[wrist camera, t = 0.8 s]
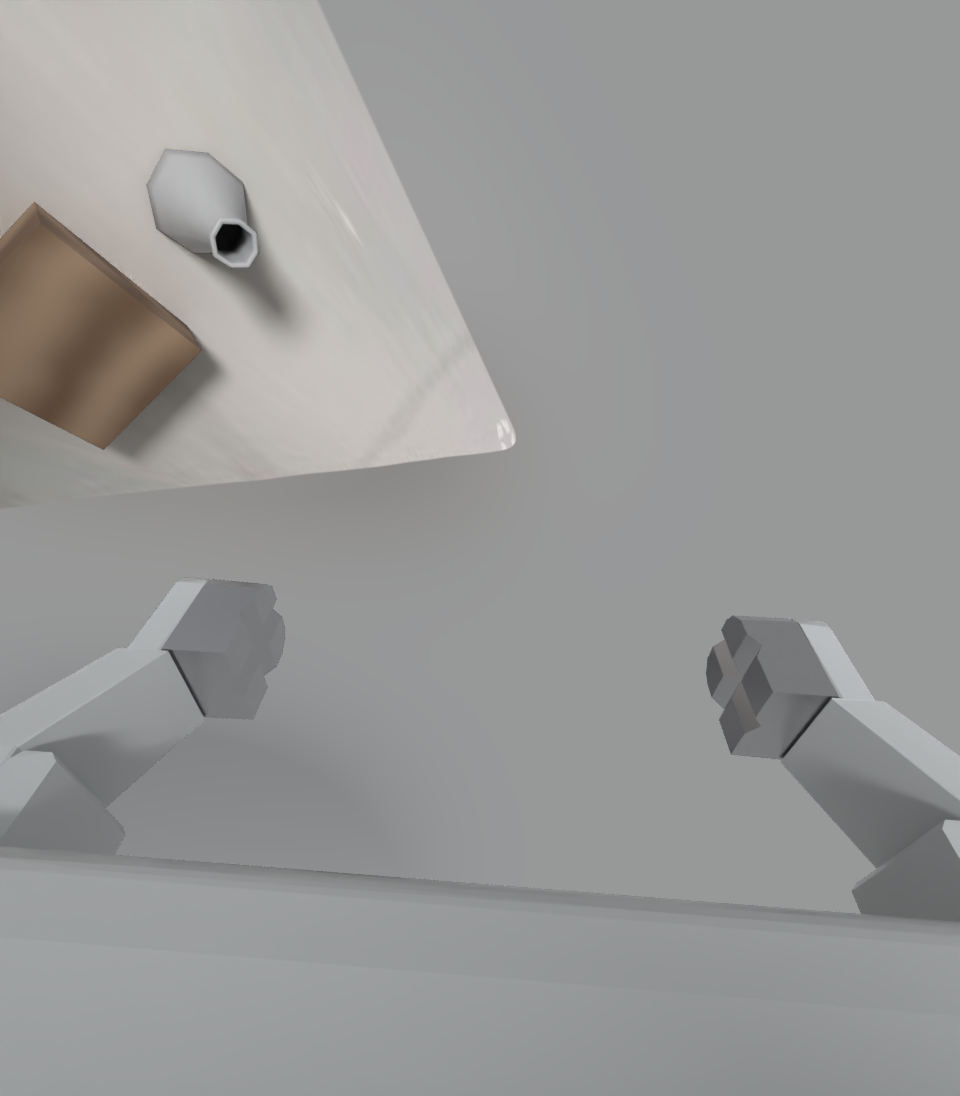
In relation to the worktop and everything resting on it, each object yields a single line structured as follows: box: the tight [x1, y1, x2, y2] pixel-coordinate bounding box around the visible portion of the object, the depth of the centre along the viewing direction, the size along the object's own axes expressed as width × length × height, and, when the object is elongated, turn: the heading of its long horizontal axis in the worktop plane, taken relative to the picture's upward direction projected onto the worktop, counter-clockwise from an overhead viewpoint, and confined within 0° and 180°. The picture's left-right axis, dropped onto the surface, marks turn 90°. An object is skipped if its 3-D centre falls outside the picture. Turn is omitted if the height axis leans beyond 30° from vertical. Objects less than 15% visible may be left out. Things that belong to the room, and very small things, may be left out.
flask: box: [147, 149, 259, 268], centre depth 38 cm, size 7×7×10 cm
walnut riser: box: [0, 202, 201, 450], centre depth 40 cm, size 12×12×5 cm
